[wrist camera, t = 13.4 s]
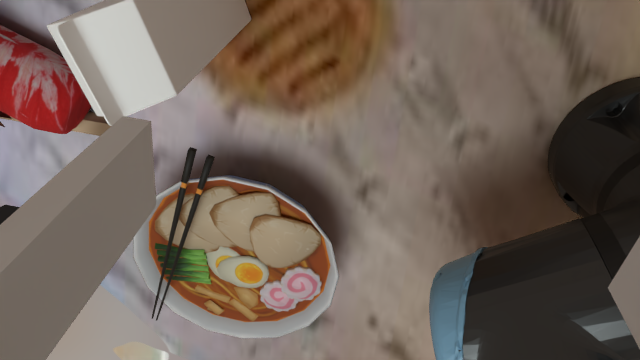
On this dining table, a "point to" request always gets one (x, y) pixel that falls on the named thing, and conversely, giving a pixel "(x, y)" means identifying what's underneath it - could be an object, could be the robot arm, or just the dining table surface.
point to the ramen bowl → (235, 256)
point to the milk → (143, 48)
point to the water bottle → (38, 86)
